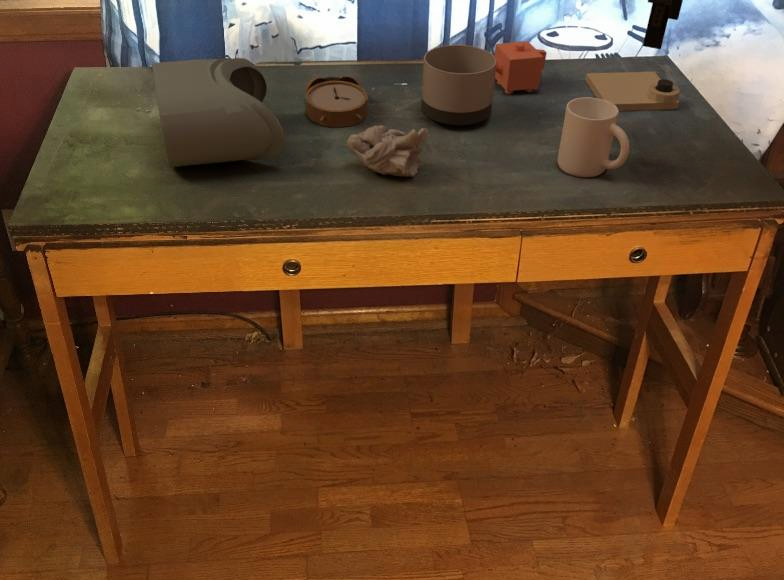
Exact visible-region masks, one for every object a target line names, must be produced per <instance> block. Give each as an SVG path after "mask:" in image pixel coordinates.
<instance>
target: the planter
mask: <svg viewBox="0 0 784 580" xmlns="http://www.w3.org/2000/svg"><path fill="white" fill-rule="evenodd" d="M494 55H495V54H493V53H492V52H490V51H488V50H486V49H483V48H480V47H478V46H473V45H464V44H448V45H447V44H446V45H440V46H436V47H433V48H431V49H430V50H428V51H426V52H425V54H424V55H423V61H422V62H423V63H422V64H423V65H422V82H421V83H422V84H421V101H420V103H421V104H420V109H421V111H422V113H423V114H424V115H425V116H426V117H427V118H429V119H430V120H432V121H434V122H437V123H440V124H443V125H447V126H453V127H462V126H469V125H475V124H478V123H481V122H483V121H484V120H486V119H488V118H489V117H490V115H491V114H492V107H493V99H494V90H495V82H496V81H495V80H496V78H495V73H496V63H497V60H496V58H495V56H494Z"/></svg>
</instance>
